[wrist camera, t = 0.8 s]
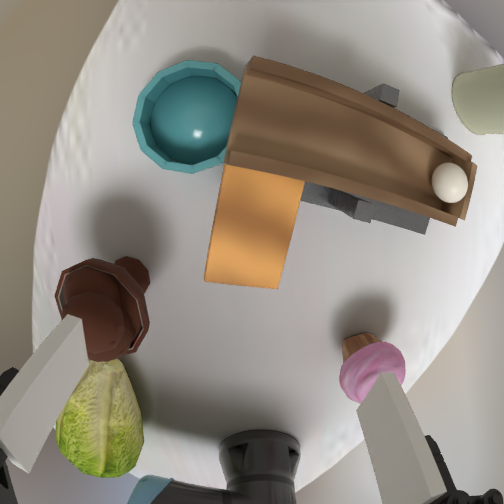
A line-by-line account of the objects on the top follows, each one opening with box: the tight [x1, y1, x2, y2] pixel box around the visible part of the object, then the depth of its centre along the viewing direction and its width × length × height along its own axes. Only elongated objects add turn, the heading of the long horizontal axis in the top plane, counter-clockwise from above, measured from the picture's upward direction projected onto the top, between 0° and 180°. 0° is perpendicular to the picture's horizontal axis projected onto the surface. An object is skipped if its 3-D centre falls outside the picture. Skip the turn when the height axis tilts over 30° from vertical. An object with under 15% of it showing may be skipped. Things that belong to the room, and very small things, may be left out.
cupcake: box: [339, 333, 405, 403], centre depth 34 cm, size 9×9×10 cm
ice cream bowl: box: [55, 256, 150, 362], centre depth 28 cm, size 11×11×15 cm
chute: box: [204, 56, 477, 289], centre depth 24 cm, size 17×24×6 cm
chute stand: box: [300, 84, 448, 235], centre depth 26 cm, size 13×22×10 cm, turn 78°
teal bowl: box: [133, 60, 241, 174], centre depth 28 cm, size 12×12×4 cm
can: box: [452, 64, 504, 135], centre depth 22 cm, size 9×9×12 cm
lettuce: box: [56, 359, 144, 478], centre depth 37 cm, size 15×24×16 cm
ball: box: [432, 163, 468, 203], centre depth 23 cm, size 4×4×4 cm
